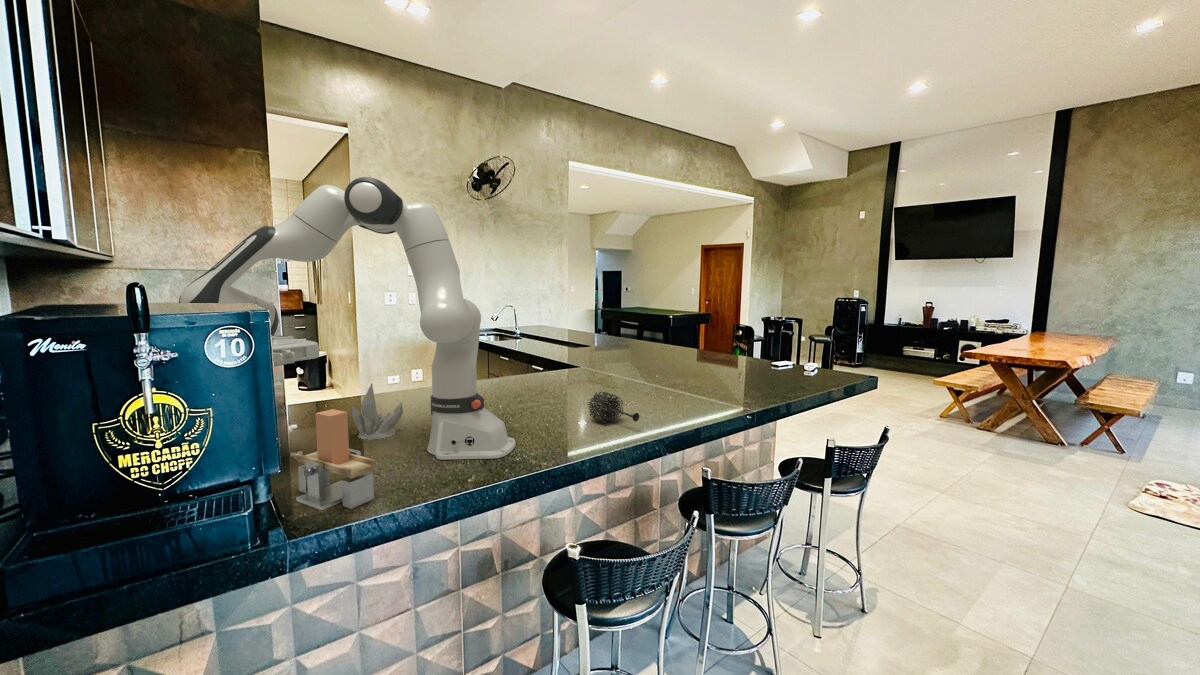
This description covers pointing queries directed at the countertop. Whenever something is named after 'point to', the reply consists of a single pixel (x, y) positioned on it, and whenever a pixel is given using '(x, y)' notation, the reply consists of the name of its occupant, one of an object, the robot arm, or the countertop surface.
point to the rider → (332, 436)
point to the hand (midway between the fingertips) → (288, 357)
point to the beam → (348, 469)
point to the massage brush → (610, 406)
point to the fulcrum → (333, 487)
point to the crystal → (374, 419)
